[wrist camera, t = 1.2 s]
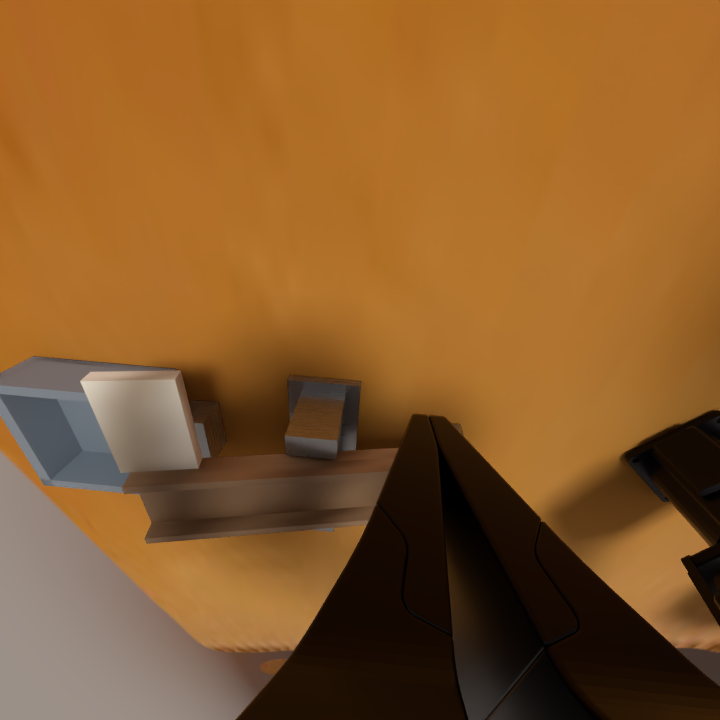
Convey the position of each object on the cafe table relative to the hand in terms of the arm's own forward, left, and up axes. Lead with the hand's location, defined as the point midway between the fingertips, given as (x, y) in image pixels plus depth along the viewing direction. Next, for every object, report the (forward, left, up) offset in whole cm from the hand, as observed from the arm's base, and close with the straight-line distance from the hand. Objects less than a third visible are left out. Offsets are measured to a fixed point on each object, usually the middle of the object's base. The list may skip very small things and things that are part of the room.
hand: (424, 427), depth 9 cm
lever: (-2, +10, -9) cm, 13 cm away
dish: (+8, +22, -12) cm, 26 cm away
